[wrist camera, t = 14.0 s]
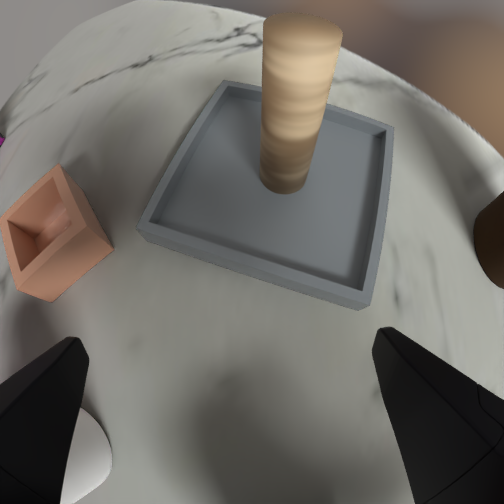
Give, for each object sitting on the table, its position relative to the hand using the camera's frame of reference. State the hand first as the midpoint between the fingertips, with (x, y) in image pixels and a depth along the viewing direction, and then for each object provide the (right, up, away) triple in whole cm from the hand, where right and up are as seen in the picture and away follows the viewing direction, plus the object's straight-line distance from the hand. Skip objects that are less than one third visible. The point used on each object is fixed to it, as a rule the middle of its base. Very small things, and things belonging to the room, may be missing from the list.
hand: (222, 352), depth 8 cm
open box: (-17, +4, +16) cm, 23 cm away
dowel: (+3, +9, +17) cm, 19 cm away
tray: (+3, +9, +18) cm, 20 cm away
